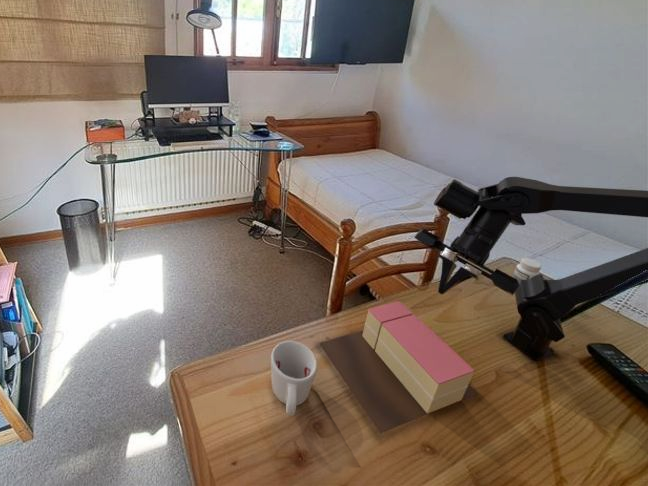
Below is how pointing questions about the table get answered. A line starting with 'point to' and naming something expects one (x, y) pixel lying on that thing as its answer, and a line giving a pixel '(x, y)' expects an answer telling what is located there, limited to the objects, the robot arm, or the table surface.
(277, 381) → the cup
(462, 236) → the robot arm
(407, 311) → the cake slice
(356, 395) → the serving board
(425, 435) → the table surface
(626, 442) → the table surface
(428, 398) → the cake
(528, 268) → the pill bottle
